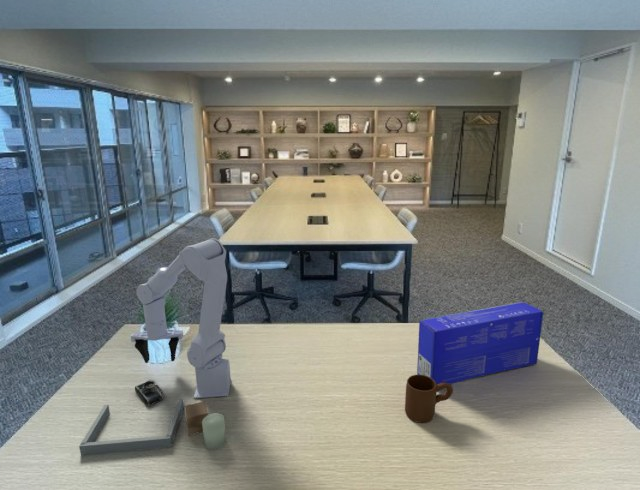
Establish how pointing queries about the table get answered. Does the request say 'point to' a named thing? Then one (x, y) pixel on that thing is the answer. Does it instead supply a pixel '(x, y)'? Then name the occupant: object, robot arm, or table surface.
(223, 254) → the robot arm
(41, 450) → the table surface
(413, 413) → the mug
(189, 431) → the walnut block
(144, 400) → the camera
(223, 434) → the rounded green capsule
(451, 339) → the toner cartridge box
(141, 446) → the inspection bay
